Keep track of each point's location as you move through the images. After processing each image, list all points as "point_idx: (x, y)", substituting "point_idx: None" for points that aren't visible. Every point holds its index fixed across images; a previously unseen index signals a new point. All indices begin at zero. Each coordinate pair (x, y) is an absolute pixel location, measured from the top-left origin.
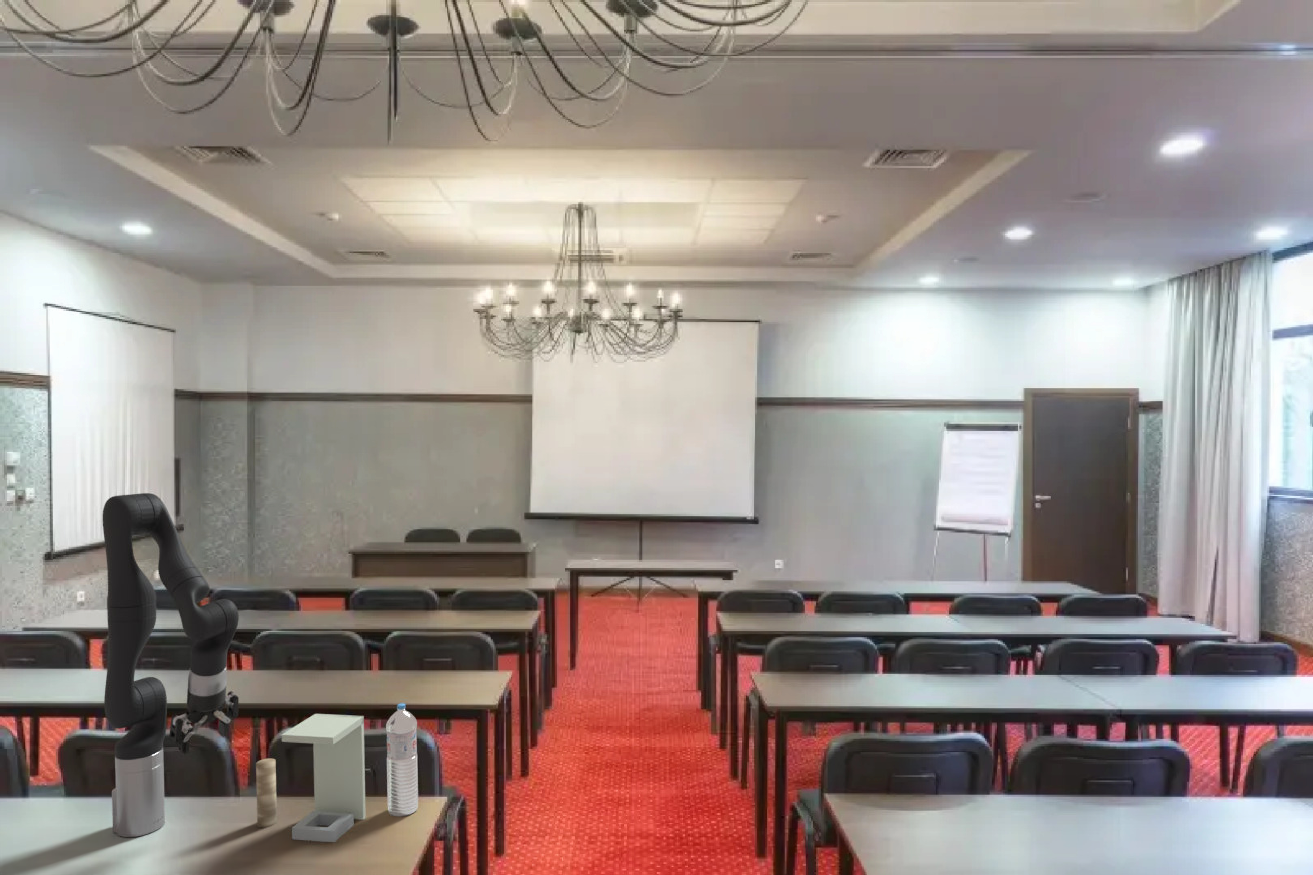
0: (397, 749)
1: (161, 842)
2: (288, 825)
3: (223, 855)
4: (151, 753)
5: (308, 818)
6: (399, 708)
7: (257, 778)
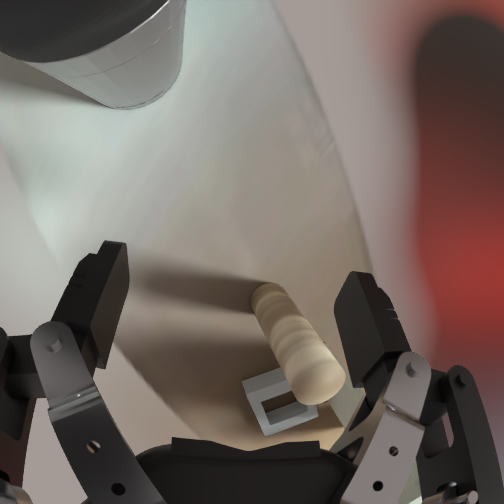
0: None
1: (106, 175)
2: None
3: (143, 337)
4: (54, 60)
5: (283, 387)
6: None
7: (282, 361)
